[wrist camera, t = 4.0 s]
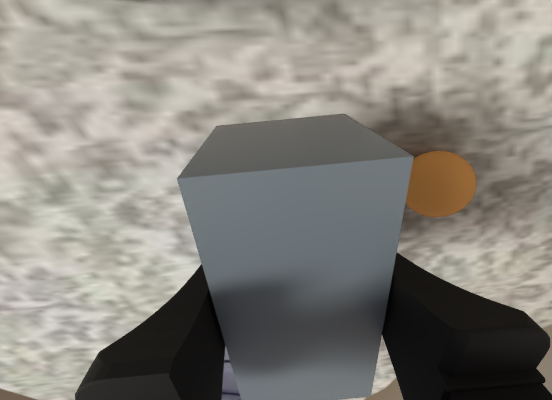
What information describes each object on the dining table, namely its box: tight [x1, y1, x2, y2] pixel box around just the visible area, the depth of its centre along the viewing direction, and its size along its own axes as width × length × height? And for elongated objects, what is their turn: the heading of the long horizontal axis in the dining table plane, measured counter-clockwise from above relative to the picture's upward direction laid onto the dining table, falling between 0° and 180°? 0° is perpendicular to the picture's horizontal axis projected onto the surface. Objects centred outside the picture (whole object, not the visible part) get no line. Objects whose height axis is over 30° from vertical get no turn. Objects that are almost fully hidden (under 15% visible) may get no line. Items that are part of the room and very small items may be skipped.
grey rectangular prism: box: [177, 114, 414, 400], centre depth 12 cm, size 12×6×6 cm, turn 5°
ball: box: [405, 151, 477, 217], centre depth 19 cm, size 5×5×5 cm
